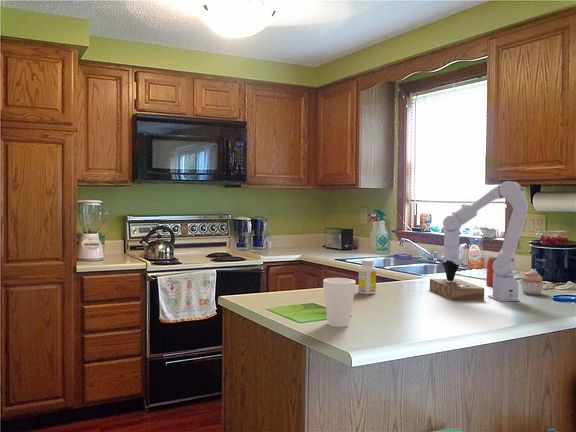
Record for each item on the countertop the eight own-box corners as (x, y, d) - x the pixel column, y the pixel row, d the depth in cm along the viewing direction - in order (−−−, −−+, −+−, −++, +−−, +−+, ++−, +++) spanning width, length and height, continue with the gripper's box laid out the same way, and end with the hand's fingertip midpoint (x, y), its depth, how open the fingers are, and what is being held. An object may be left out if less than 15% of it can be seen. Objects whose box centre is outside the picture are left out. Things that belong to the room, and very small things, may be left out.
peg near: (467, 297, 210) (468, 286, 210) (459, 297, 209) (459, 286, 209) (463, 295, 213) (464, 284, 213) (455, 295, 213) (455, 284, 213)
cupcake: (521, 290, 229) (522, 266, 229) (546, 293, 224) (547, 268, 224) (516, 293, 222) (517, 268, 221) (541, 296, 217) (542, 271, 216)
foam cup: (352, 320, 169) (353, 278, 169) (356, 328, 160) (358, 283, 159) (320, 320, 169) (322, 277, 168) (323, 328, 160) (325, 282, 159)
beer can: (504, 287, 237) (506, 259, 236) (489, 287, 237) (490, 258, 236) (499, 284, 243) (500, 257, 243) (484, 284, 243) (485, 256, 243)
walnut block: (484, 300, 206) (484, 288, 206) (453, 300, 204) (453, 288, 204) (457, 289, 228) (457, 278, 228) (429, 289, 226) (429, 278, 226)
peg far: (456, 291, 220) (456, 281, 219) (447, 291, 219) (448, 281, 219) (452, 289, 223) (452, 279, 223) (443, 289, 223) (444, 279, 222)
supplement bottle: (375, 292, 219) (375, 259, 219) (376, 295, 213) (376, 261, 212) (357, 291, 220) (358, 258, 219) (358, 294, 213) (359, 260, 213)
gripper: (434, 244, 227) (433, 277, 228) (449, 248, 213) (448, 283, 213) (450, 244, 228) (449, 277, 229) (467, 248, 214) (465, 283, 214)
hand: (450, 280), depth 221 cm, fingers closed, pressing on peg far
